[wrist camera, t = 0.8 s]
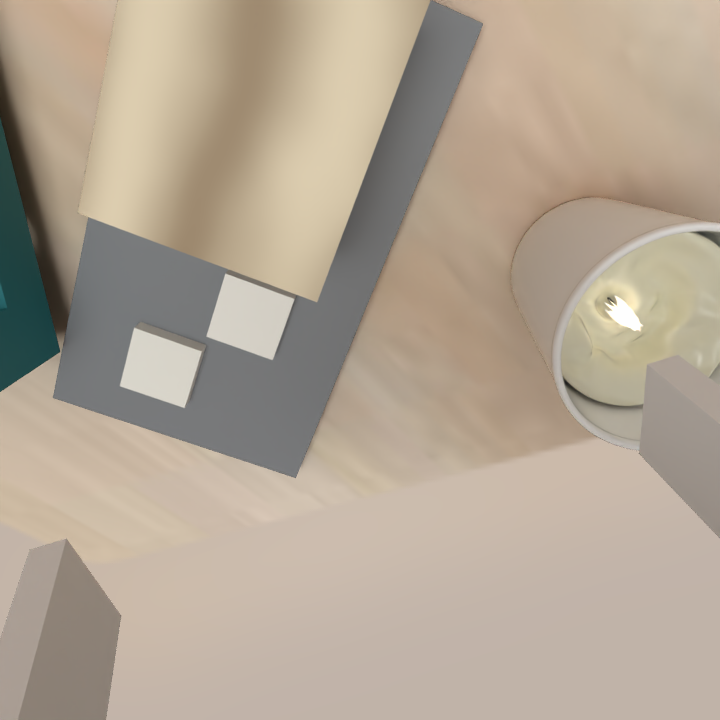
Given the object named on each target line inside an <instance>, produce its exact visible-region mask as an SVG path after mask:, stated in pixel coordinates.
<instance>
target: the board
mask: <svg viewBox="0 0 720 720" xmlns="http://www.w3.org/2000/svg"><path fill="white" fill-rule="evenodd" d="M482 26H483V23H480V22H478V21H476V20H474V19H472V18H469V17H467V16H465V15H463V14H461V13H458V12H456V11H454V10H452V9H450V8H448V7H445V6H443V5H441V4H439V3H437V2H434V1H432V0H430V3H429V6H428V8H427V11H426V14H425V16H424V19H423V22H422V24H421V27H420V30H419V32H418V35H417V38H416V40H415V43H414V46H413V48H412V51H411V54H410V56H409V59H408V62H407V64H406V67H405V70H404V72H403V75H402V78H401V80H400V83H399V86H398V88H397V91H396V94H395V96H394V99H393V101H392V104H391V107H390V109H389V112H388V115H387V117H386V120H385V123H384V125H383V128H382V131H381V133H380V136H379V139H378V141H377V144H376V147H375V149H374V152H373V155H372V157H371V160H370V163H369V165H368V168H367V171H366V173H365V176H364V179H363V181H362V184H361V187H360V189H359V192H358V195H357V197H356V200H355V203H354V205H353V208H352V211H351V213H350V216H349V219H348V221H347V224H346V227H345V229H344V232H343V235H342V237H341V240H340V243H339V245H338V248H337V251H336V253H335V256H334V259H333V261H332V264H331V267H330V269H329V272H328V275H327V277H326V280H325V283H324V285H323V288H322V291H321V293H320V296H319V299H318V301H317V302H315V301H312V300H309V299H307V298H304V297H301V296H299V295H296V297H295V300H294V302H293V305H292V308H291V311H290V314H289V316H288V319H287V322H286V325H285V328H284V330H283V333H282V336H281V339H280V341H279V344H278V347H277V350H276V353H275V355H274V358H273V360H271V359H268V358H265V357H262V356H259V355H256V354H254V353H251V352H248V351H245V350H242V349H240V348H237V347H234V346H231V345H228V344H226V343H223V342H220V341H217V340H214V339H211V338H209V337H206V336H207V333H208V329H209V326H210V323H211V319H212V316H213V313H214V310H215V306H216V303H217V300H218V296H219V293H220V290H221V286H222V283H223V280H224V276H225V273H226V272H227V271H228V270H229V269H226V268H224V267H221V266H218V265H216V264H213V263H210V262H207V261H205V260H202V259H199V258H197V257H194V256H191V255H189V254H186V253H183V252H181V251H178V250H175V249H173V248H170V247H167V246H165V245H162V244H159V243H156V242H154V241H151V240H148V239H146V238H143V237H140V236H138V235H135V234H132V233H130V232H127V231H124V230H122V229H119V228H116V227H114V226H111V225H108V224H105V223H103V222H100V221H97V220H95V219H92V218H89V217H88V222H87V227H86V232H85V238H84V243H83V248H82V253H81V258H80V263H79V268H78V273H77V278H76V283H75V288H74V293H73V299H72V304H71V309H70V314H69V319H68V324H67V329H66V334H65V339H64V344H63V349H62V354H61V360H60V365H59V370H58V375H57V380H56V385H55V390H54V395H53V398H55V399H58V400H61V401H64V402H67V403H70V404H73V405H76V406H79V407H82V408H85V409H88V410H91V411H94V412H97V413H100V414H103V415H106V416H109V417H112V418H115V419H119V420H122V421H125V422H128V423H131V424H134V425H137V426H140V427H143V428H146V429H149V430H152V431H155V432H158V433H161V434H164V435H167V436H170V437H173V438H176V439H179V440H182V441H185V442H188V443H191V444H194V445H197V446H200V447H203V448H206V449H209V450H212V451H215V452H219V453H222V454H225V455H228V456H231V457H234V458H237V459H240V460H243V461H246V462H249V463H252V464H255V465H258V466H261V467H264V468H267V469H270V470H273V471H276V472H279V473H282V474H285V475H288V476H291V477H294V478H296V476H297V474H298V471H299V469H300V466H301V464H302V461H303V459H304V457H305V454H306V452H307V449H308V447H309V445H310V442H311V440H312V437H313V435H314V432H315V430H316V428H317V425H318V423H319V420H320V418H321V415H322V413H323V411H324V408H325V406H326V403H327V401H328V399H329V396H330V394H331V391H332V389H333V386H334V384H335V382H336V379H337V377H338V374H339V372H340V369H341V367H342V365H343V362H344V360H345V357H346V355H347V352H348V350H349V348H350V345H351V343H352V340H353V338H354V336H355V333H356V331H357V328H358V326H359V323H360V321H361V319H362V316H363V314H364V311H365V309H366V306H367V304H368V302H369V299H370V297H371V294H372V292H373V290H374V287H375V285H376V282H377V280H378V277H379V275H380V273H381V270H382V268H383V265H384V263H385V260H386V258H387V256H388V253H389V251H390V248H391V246H392V243H393V241H394V239H395V236H396V234H397V231H398V229H399V227H400V224H401V222H402V219H403V217H404V214H405V212H406V210H407V207H408V205H409V202H410V200H411V197H412V195H413V193H414V190H415V188H416V185H417V183H418V181H419V178H420V176H421V173H422V171H423V168H424V166H425V164H426V161H427V159H428V156H429V154H430V151H431V149H432V147H433V144H434V142H435V139H436V137H437V135H438V132H439V130H440V127H441V125H442V122H443V120H444V118H445V115H446V113H447V110H448V108H449V105H450V103H451V101H452V98H453V96H454V93H455V91H456V88H457V86H458V84H459V81H460V79H461V76H462V74H463V72H464V69H465V67H466V64H467V62H468V59H469V57H470V55H471V52H472V50H473V47H474V45H475V42H476V40H477V38H478V35H479V33H480V30H481V28H482ZM140 322H142V323H145V324H148V325H151V326H154V327H157V328H159V329H162V330H165V331H168V332H171V333H174V334H176V335H179V336H182V337H185V338H188V339H190V340H193V341H196V342H199V343H202V344H205V345H206V347H205V351H204V354H203V357H202V361H201V364H200V367H199V370H198V374H197V377H196V380H195V384H194V387H193V390H192V394H191V397H190V400H189V402H188V404H187V405H186V407H185V408H183V407H180V406H177V405H174V404H171V403H168V402H165V401H162V400H159V399H156V398H153V397H150V396H147V395H144V394H141V393H139V392H136V391H133V390H130V389H127V388H124V387H121V386H120V383H121V379H122V375H123V371H124V367H125V363H126V359H127V355H128V351H129V347H130V342H131V338H132V334H133V330H134V327H135V326H137V325H138V324H139V323H140Z"/></svg>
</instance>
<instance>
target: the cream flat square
mask: <svg viewBox="0 0 720 720" xmlns="http://www.w3.org/2000/svg"><path fill="white" fill-rule="evenodd" d="M295 297H296V294H293V293H291V292H288V291H285V290H283V289H280V288H277V287H275V286H272V285H269V284H267V283H264V282H261V281H258V280H256V279H253V278H250V277H248V276H245V275H242V274H240V273H237V272H234V271H232V270H228V271H227V272H226V273H225V276H224V280H223V283H222V286H221V290H220V293H219V296H218V300H217V303H216V306H215V310H214V313H213V316H212V319H211V323H210V326H209V329H208V333H207V336H206V337H209V338H211V339H214V340H217V341H220V342H223V343H226V344H228V345H231V346H234V347H237V348H240V349H242V350H245V351H248V352H251V353H254V354H256V355H259V356H262V357H265V358H268V359H271V360H273V358H274V355H275V353H276V350H277V347H278V344H279V341H280V339H281V336H282V333H283V330H284V328H285V325H286V322H287V319H288V316H289V314H290V311H291V308H292V305H293V302H294V300H295Z"/></svg>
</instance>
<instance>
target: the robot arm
mask: <svg viewBox="0 0 720 720" xmlns="http://www.w3.org/2000/svg"><path fill="white" fill-rule="evenodd" d="M639 454H640V455H641V456H642V457H643V458H644V459H645V460H646V462H647V463H648V464H649V465H650V466H651V467H652V468H653V469H654V470H655V471H656V472H657V473H658V474H659V475H660V476H661V477H662V478H663V479H664V480H665V481H666V482H667V483H668V485H669V486H670V487H671V488H672V489H673V490H674V491H675V492H676V493H677V494H678V495H679V496H680V497H681V498H682V499H683V500H684V501H685V502H686V503H687V504H688V506H690V507H691V509H692V510H693V511H694V512H695V513H696V514H697V515H698V516H699V517H700V518H701V519H702V520H703V521H704V522H705V523H706V524H707V525H708V526H709V528H711V530H712V531H713V532H714V533H715V534H716V535H717V536H718V537H719V538H720V386H719V385H718V384H716V383H715V382H714V381H712V380H711V379H710V378H708V377H707V376H706V375H704V374H703V373H702V372H700V371H699V370H698V369H696V368H695V367H694V366H692V365H691V364H690V363H688V362H687V361H686V360H684V359H683V358H682V357H680V356H679V355H676V356H673V357H669V358H666V359H663V360H659V361H656V362H653V363H649V364H647V370H646V381H645V392H644V403H643V414H642V425H641V436H640V447H639ZM120 620H121V615H120V613H119V612H118V611H117V609H116V608H115V606H114V605H113V603H112V602H111V601H110V599H109V598H108V597H107V595H106V594H105V592H104V591H103V590H102V588H101V587H100V585H99V584H98V582H97V581H96V580H95V578H94V577H93V576H92V574H91V572H90V571H89V570H88V568H87V567H86V565H85V564H84V563H83V561H82V560H81V558H80V557H79V556H78V554H77V553H76V551H75V550H74V549H73V547H72V546H71V544H70V543H69V542H68V540H67V539H64V540H60V541H57V542H54V543H50V544H47V545H44V546H41V547H37V548H34V549H31V550H29V553H28V556H27V559H26V562H25V565H24V569H23V571H22V574H21V578H20V580H19V583H18V587H17V589H16V593H15V595H14V598H13V601H12V604H11V608H10V611H9V614H8V617H7V620H6V623H5V626H4V629H3V632H2V635H1V638H0V720H106V716H107V709H108V702H109V696H110V689H111V682H112V675H113V667H114V661H115V654H116V647H117V640H118V634H119V627H120Z"/></svg>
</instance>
